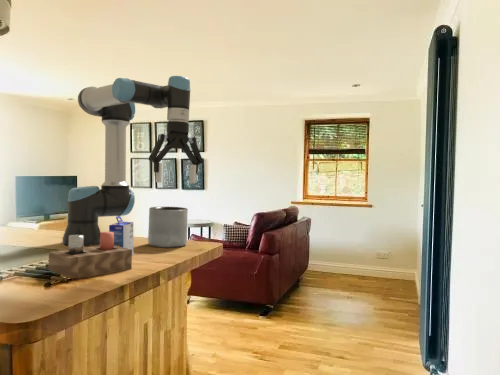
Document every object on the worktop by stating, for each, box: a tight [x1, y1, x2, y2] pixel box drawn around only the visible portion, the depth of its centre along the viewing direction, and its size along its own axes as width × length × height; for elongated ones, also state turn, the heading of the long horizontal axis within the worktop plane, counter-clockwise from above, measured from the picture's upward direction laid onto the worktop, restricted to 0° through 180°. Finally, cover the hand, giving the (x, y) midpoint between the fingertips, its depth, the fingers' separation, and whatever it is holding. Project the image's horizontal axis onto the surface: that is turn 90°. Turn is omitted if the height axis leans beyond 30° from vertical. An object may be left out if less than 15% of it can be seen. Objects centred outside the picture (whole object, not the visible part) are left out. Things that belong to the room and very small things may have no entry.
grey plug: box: [67, 235, 85, 255], centre depth 119 cm, size 4×4×6 cm
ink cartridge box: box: [108, 216, 134, 257], centre depth 142 cm, size 10×6×14 cm, turn 176°
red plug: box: [99, 231, 114, 251], centre depth 126 cm, size 4×4×6 cm
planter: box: [147, 206, 188, 249], centre depth 171 cm, size 16×16×16 cm
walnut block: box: [48, 245, 133, 280], centre depth 123 cm, size 20×12×6 cm, turn 141°
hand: (176, 182), depth 143 cm, fingers open, 13 cm apart
